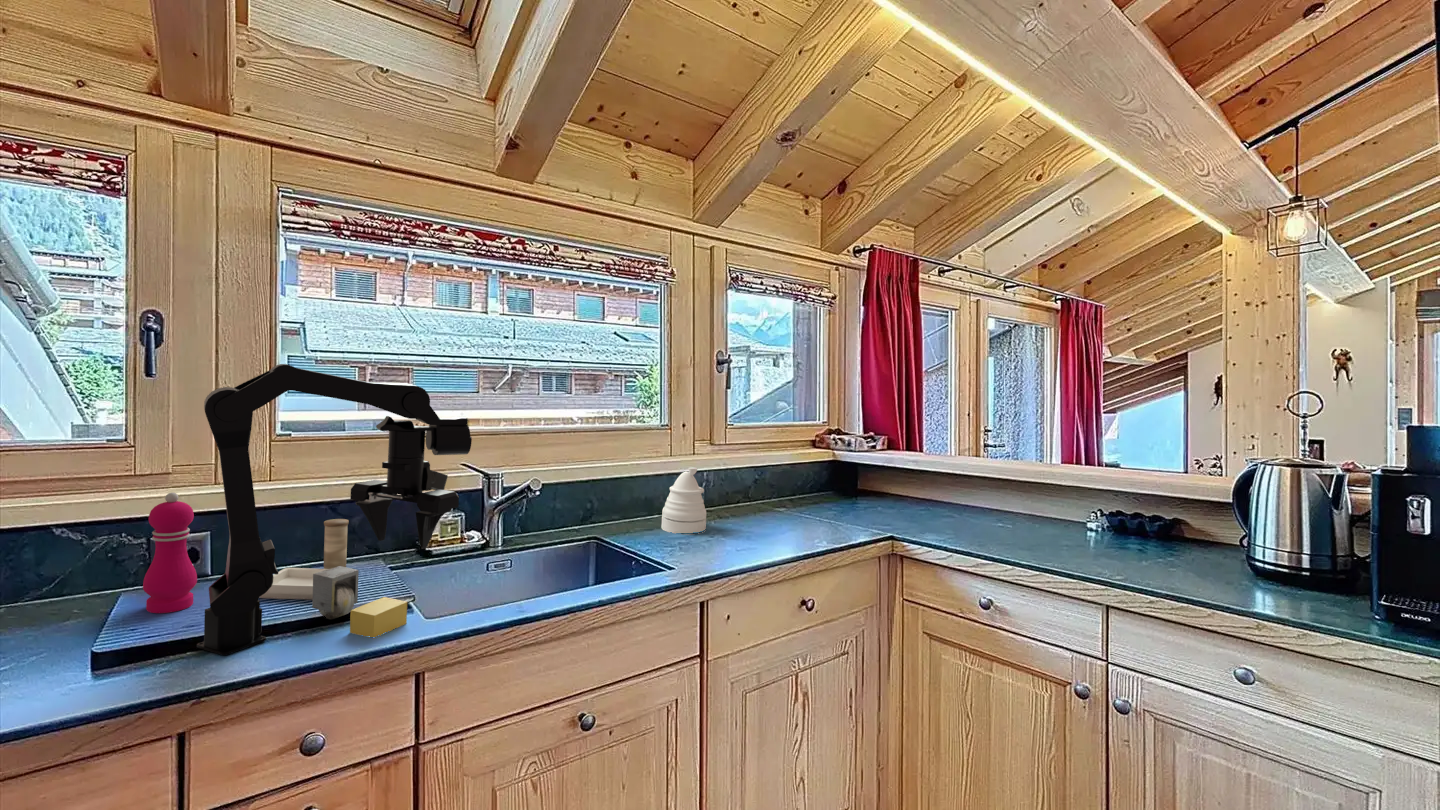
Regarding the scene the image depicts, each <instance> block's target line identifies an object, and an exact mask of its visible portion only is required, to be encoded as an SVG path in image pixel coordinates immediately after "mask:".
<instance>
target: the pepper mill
mask: <svg viewBox="0 0 1440 810" xmlns="http://www.w3.org/2000/svg"><path fill="white" fill-rule="evenodd" d="M164 499H165V501H164V502H161V503H158V504H157V505H155V506H153V508H152V509H151V510H150V512H149V513H148V514H149V515H148V523H149V526H151V528H153V529H154V530H153V531H152V532H151V534H152V538H151V539H152V540H153V541H155V551H154V556H153V559H152V561H151V564H150V565H149V567H148V569H147V571H146V573H145V575H144V578H143V582H142V584H143V585H142V589H143V591H144V592H145V593H146V594H147V595H149V596H150V597H148V598H147V599H146V602H145V603H146V605H145V607H146V611H147V612H148V613H151V614H168V613H174V612H179V611H183V610H185V609H188V608H190V607H191V606H193V604H194V593H193V592H191V590H192V589H193V588H195V587H196V585H197V583H198V574H197V570H196V568H195V566H194V565H193V563H192V561H191V559H190V557H189V554H188V549H187V542H188V541H187V540H188V538H189V537H190V536H191V533H190V531H191V529H190V528H189V527H188V526H189V525H191V523H192V522H193V520H194V518H195V515H194V509H193V507H192V506H191V505H190V504H188V503H187V502H184V501H179V495H178V494H177V493H176V492H169V493H167V494H166V495H165V498H164Z"/></svg>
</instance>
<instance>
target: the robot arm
mask: <svg viewBox="0 0 1440 810" xmlns="http://www.w3.org/2000/svg"><path fill="white" fill-rule="evenodd" d="M288 391H293V392H298V393H299V392H300V393H305V394H311V395H315V396H321V397H325V398H331V399H337V400H343V401H349V402H353V403H359V404H366V405H369V406H372V407H375V408H378V409H380V410H383V411H385V412H388V413H391V414H393V415H394V414H395V415H397V416H400V417H401V418H404V419H405V418H406V419H408V420H394V419H393V418H392V416H388V415H386V416H385V417H384V419H383V420H382V421H380V422H379V423H378V424H376V426H375V428H376V429H377V430H378V431H380V432H388V449H387V452H388V453H387V460H386V461H383V462H382V463H381V468H382V469H387V472H386V473H387V474H386V477H387V478H386V481H385V480H378V479H373V480H372V479H371V480H366V481H360V482H355V483H354V485H353V486H352V487H351V488H350V495H349V496H350V500H351V501H355V506H358V507H359V508H360V510H361V511H362V512H363V515H365V518H366V519H367V521H368V523H369V524H370V527H371V529H372V531H373V533H374V535H375V536H376V538H377V541H379V542H381V541H382V542H383V541H385V540H386V533H387V525H388V523H387V522H388V515H389V513H388V511H389V509H390V506H391V505H392V503H393V502H394V501H402V502H408V503H413V504H416V507H417V508H418V509H419V511H416V512H415V518H416V520H415V521H416V527H417V534H418V542H419V546H420V548H421V550H422V549H427V547H429V546H428V545H429V543H430V541H431V539H432V537H433V534H434V532H435V530H436V528H437V526H438V523H439V521H440V520H441V518H442V517H443V516H444V515H445V514H446V513H450V512H452V510H453V509H458V508H459V505H460V503H459V501H460V496H459V495H458V493H457V492H456V491H453V490H446V489H445V488H446V483H447V480H448V476H449V475H448V474H445V473H441V472H440V471H439V472H438V471H436V470H432V469H431V463H430V461H429V460H428V461H427V460H425V447H426V448H427V450H428V451H430V450H431V452H432V455H434V456H454V455H457V456H458V455H462V456H463V455H468V454H469V453H470V451H471V447H472V439H473V438H472V436H471V431H470V427H469V425H468V424H469V423H468V422H469V418H467V417H464V416H463V417H462V416H461V417H460V416H457V417H443V418H442V417H441V418H440V417H439V415H438V414H437V413H436V412H435V410H434V408H432V406H431V399H430V395H429V394H428V392H427V390H426V389H425V388H424V387H421V386H418V385H415V384H411V383H402V382H370V381H364V380H359V379H353V378H348V377H344V376H339V375H335V374H328V373H324V372H318V371H314V370H309V369H304V368H299V367H294V366H292V365H290V364H286V363H281V364H280V363H279V364H277V365H274V366H272V368H271V369H269V370H267V371H265V372H263V373H261V374H259V375H257V376H254V377H252V378H251V379H248V380H246V381H244V382H242V383H240V384H238V385H236V386H235V387H232V386H231V387H229V386H225V387H219V388H217V389H214V390H212V391H211V392H209V394H207V396H206V397H205V399H204V404H203V409H204V413H205V417H206V419H207V422H208V424H209V428H210V430H211V433H212V436H213V438H214V441H215V444H216V446H217V448H218V449H217V450H218V451H219V452H218V453H219V461H220V469H221V476H222V477H221V478H222V484H223V485H222V486H223V492H224V494H223V495H224V501H225V507H226V509H225V510H226V516H227V523H228V531H229V537H228V539H229V540H228V547H227V553H226V554H227V555H226V565H225V566H226V567H225V572H224V573H223V574H222V575H221V576H220V577H218V579H217V580H216V581H214V582H213V583H212V584H211V585H209V587H208V594H209V607H208V608H205V609H204V621H203V622H204V626H203V627H204V629H203V632H204V635H203V641H202V642H197V643H196V648H197V649H202V650H205V651H207V652H211V653H213V654H218V655H220V656H228V655H231V654H233V653H236V652H238V651H239V652H240V651H241V650H245V649H247V648H250V647H253V646H255V645H257V644H260V643H263V642H265V641H267V637H266V636H265V635H261V634H262V626H263V623H262V622H263V609H262V608H261V607H260V606H261V600H259V599H260V598H259V597H260V596H262V595H263V594H265V593H266V592H267V591H268V590H269V588H270V587H271V586H272V584H273V575H274V574H276V575H277V574H278V572H279V571H278V568H277V566H276V563H275V558H276V548H275V546H274V544H273V541H272V539H268V540H265V541H262V540H261V537H260V532H259V523H258V518H257V517H258V515H257V507H256V501H255V492H254V484H253V483H254V482H253V476H252V467H251V460H250V450H249V449H250V441H251V434H252V433H251V432H252V424H253V414H254V411H257V410H258V409H260V408H261V407H264V406H265V405H267V404H269V403H270V402H272V401H273V400H275V399H276V398H278V397H279V396H281V395H283V394H285V393H287V392H288ZM412 420H416V421H417V422H418V421H419V422H420V423H424V424H426V425H414V422H413V421H412ZM424 491H425V492H424Z"/></svg>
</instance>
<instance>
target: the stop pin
mask: <svg viewBox="0 0 1440 810" xmlns="http://www.w3.org/2000/svg"><path fill="white" fill-rule="evenodd" d="M349 524H350V523H349V519H345V518H335V519H333V518H332V519H327V520H325V521H323V526H324V541H323V542H324V543H323V544H324V546H323V569H331V568H335V567H338V566H343V567H347V556H348V555H347V554H348V553H347V552H348V551H347V550H348V549H347V548H348V525H349Z"/></svg>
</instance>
